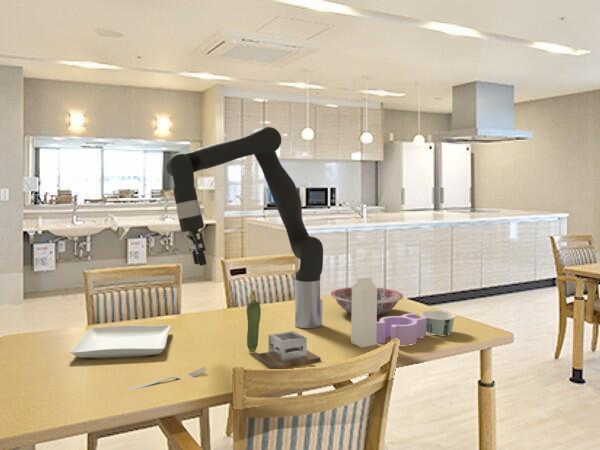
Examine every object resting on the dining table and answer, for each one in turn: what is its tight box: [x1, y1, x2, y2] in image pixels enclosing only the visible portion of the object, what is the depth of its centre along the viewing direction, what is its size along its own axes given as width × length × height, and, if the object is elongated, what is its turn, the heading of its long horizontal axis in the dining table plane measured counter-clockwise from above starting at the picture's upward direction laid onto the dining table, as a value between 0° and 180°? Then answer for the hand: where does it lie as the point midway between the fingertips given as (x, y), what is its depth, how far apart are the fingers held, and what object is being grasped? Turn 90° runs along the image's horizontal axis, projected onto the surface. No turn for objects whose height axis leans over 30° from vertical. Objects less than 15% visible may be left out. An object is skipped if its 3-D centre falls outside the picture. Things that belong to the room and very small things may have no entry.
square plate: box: [69, 324, 173, 359], centre depth 168 cm, size 27×27×4 cm
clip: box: [376, 312, 427, 345], centre depth 177 cm, size 20×12×7 cm, turn 132°
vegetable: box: [246, 289, 262, 354], centre depth 162 cm, size 4×4×20 cm
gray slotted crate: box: [268, 330, 308, 363], centre depth 156 cm, size 8×8×6 cm
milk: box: [350, 276, 378, 348], centre depth 170 cm, size 6×6×22 cm
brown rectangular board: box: [254, 346, 322, 370], centre depth 156 cm, size 16×12×1 cm
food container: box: [420, 310, 457, 335], centre depth 185 cm, size 12×12×6 cm
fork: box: [127, 366, 207, 391], centre depth 138 cm, size 3×24×2 cm, turn 125°
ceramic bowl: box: [330, 286, 404, 316], centre depth 211 cm, size 29×29×8 cm
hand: (200, 264), depth 169 cm, fingers open, 8 cm apart
